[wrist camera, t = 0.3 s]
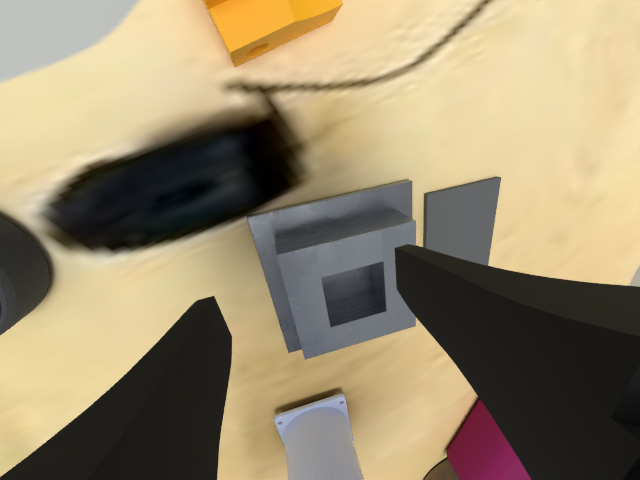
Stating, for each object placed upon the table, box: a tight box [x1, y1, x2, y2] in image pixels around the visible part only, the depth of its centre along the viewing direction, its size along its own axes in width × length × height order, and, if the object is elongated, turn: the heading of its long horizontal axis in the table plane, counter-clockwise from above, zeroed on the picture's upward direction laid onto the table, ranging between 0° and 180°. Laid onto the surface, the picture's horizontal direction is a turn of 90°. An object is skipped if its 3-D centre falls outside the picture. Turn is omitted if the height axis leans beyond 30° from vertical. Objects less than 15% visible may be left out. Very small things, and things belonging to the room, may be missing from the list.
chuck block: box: [247, 180, 416, 359], centre depth 21 cm, size 14×13×4 cm
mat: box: [424, 177, 501, 266], centre depth 23 cm, size 9×7×1 cm
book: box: [447, 399, 531, 480], centre depth 35 cm, size 21×28×8 cm
